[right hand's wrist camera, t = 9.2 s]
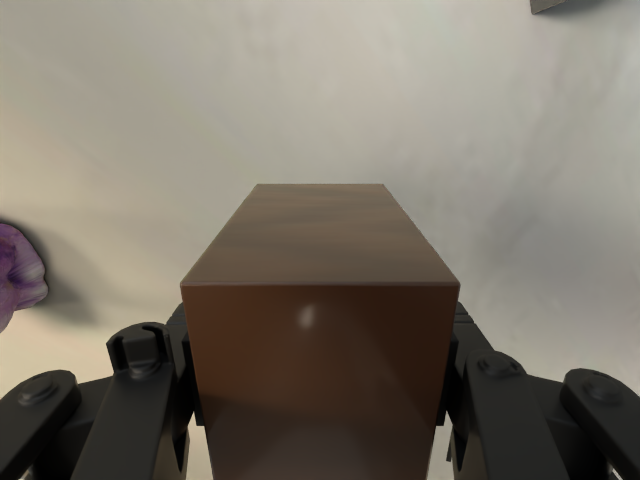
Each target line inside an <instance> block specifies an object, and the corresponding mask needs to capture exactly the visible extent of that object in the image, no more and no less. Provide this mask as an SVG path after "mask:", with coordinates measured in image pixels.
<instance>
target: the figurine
mask: <svg viewBox="0 0 640 480" xmlns="http://www.w3.org/2000/svg"><path fill="white" fill-rule="evenodd" d="M44 274H45V268H44V265H43V264H42V260H41V259H40V257H39V256H38V255H37V252H36V251H35V250H34V248H33V247H32V245H31V244H30V243H29V242H28V241H27V239H26V238H25V237H24V236H23V234H22V233H21V232H20V231H19V230H17V229H15V228H13V227H12V226H11V225H6V224H0V333H1V332H2V331H3V330H4V329H5V328H6V327H7V325H8V323H9V321H10V320H11V318H12V316H13V312H14V311H17V310H21V309H26V308H30V307H32V306H33V305H35V303H37V302H39V301H41V300H42V299H43V298H45V297H46V296H47V293H48V287H47V285H46V282H45V281H44V278H43V276H44Z"/></svg>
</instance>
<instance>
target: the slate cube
mask: <svg viewBox="0 0 640 480" xmlns="http://www.w3.org/2000/svg"><path fill="white" fill-rule="evenodd" d="M566 1H568V0H530V2H531V11H532V14H535V13H538V12H540V11H543V10H545V9H548V8H550V7H553V6H555V5H558V4H560V3H563V2H566Z"/></svg>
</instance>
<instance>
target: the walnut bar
mask: <svg viewBox="0 0 640 480" xmlns="http://www.w3.org/2000/svg"><path fill="white" fill-rule="evenodd" d="M180 288H181V294H182V300H183V306H184V311H185V317H186V323H187V329H188V335H189V340H190V346H191V352H192V358H193V363H194V369H195V375H196V381H197V387H198V392H199V398H200V404H201V410H202V416H203V421H204V427H205V433H206V439H207V444H208V450H209V456H210V462H211V468H212V473H213V479H214V480H427V475H428V470H429V464H430V458H431V452H432V447H433V441H434V435H435V429H436V424H437V418H438V412H439V406H440V401H441V395H442V389H443V383H444V378H445V372H446V366H447V360H448V354H449V349H450V343H451V337H452V331H453V326H454V320H455V314H456V308H457V303H458V297H459V291H460V282H459V281H458V279H457V278H456V277H455V276H454V274H453V273H452V272H451V270H450V269H449V268H448V267H447V265H446V264H445V263H444V261H443V260H442V259H441V258H440V256H439V255H438V254H437V252H436V251H435V250H434V249H433V247H432V246H431V245H430V243H429V242H428V241H427V240H426V238H425V237H424V236H423V235H422V233H421V232H420V231H419V229H418V228H417V227H416V226H415V224H414V223H413V222H412V220H411V219H410V218H409V217H408V215H407V214H406V213H405V211H404V210H403V209H402V208H401V206H400V205H399V204H398V202H397V201H396V200H395V199H394V197H393V196H392V195H391V194H390V192H389V191H388V190H387V188H386V187H385V186H384V185H383V184H257V185H256V186H255V187H254V189H253V190H252V191H251V193H250V194H249V195H248V196H247V198H246V199H245V200H244V202H243V203H242V204H241V205H240V207H239V208H238V209H237V211H236V212H235V213H234V214H233V216H232V217H231V218H230V220H229V221H228V222H227V223H226V225H225V226H224V227H223V229H222V230H221V231H220V232H219V234H218V235H217V236H216V238H215V239H214V240H213V241H212V243H211V244H210V245H209V247H208V248H207V249H206V250H205V252H204V253H203V254H202V256H201V257H200V258H199V259H198V261H197V262H196V263H195V265H194V266H193V267H192V268H191V270H190V271H189V272H188V274H187V275H186V276H185V277H184V279H183V280H182V281H181V283H180Z"/></svg>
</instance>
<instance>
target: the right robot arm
mask: <svg viewBox="0 0 640 480" xmlns="http://www.w3.org/2000/svg"><path fill="white" fill-rule="evenodd" d="M106 346H107V349H108V353H109V356H110V360H111V363H112V367H113V370H114V374H113V376H110V377H107V378H103V379H98V380H94V381H89V382H85V383H80V384H78V383H77V380H76V377H75V375H74V374H72V373H71V372H70V371H66V370H54V371H47V372H44V373H41V374H38V375H35V376H33V377H31V378H29V379H27V380H25V381H23V382H21V383H20V384H18V385H17V386H16V387H14V388H13V389H12V390H11V391H9V392H8V393H7V394H6V395H5V396H4V397H3V398H2V399H1V400H0V480H20V478H21V477H22V476H23V475H24V473H25V472H26V471H27V470H28V472H29V473H28V474H27V475H26V477H25V478H24V479H23V480H186V472H187V462H188V453H189V443H190V438H189V432H188V424H189V422H190V419H191V417H192V414H193V412H194V414H195V419H196V425H197V426H204V421H203V416H202V410H201V404H200V398H199V392H198V387H197V381H196V375H195V369H194V363H193V358H192V352H191V346H190V340H189V335H188V329H187V323H186V317H185V311H184V306H183V302H182V303H181V304H179V306H178V307H177V308H176V310H175V311H174V313H173V314H172V316H171V317H170V318H169V320H168V321H167V324H166V325H164V324H161V323H157V322H144V323H139V324H135V325H131V326H129V327H127V328H124V329H122V330H120V331H119V332H117V333H116V334H115V335H113V336H112V337H111V338H110V339H109V340H108V342H107V343H106ZM446 410H447V412H448V414H449V417H450V419H451V422H452V424H453V426H452V432H451V437H450V442H449V447H448V452H447V458H446V461H449V462H451V458H452V461H453V471H454V480H619V479H618V478H617V477H616V476H615V474H614V473H613V472H612V470H613V468H614V469H615V470H616V472H617V473H618V474H619V475H620V477H621V478H622V479H623V480H640V397H639V396H638V395H637V394H636V393H635V392H633V391H632V390H631V389H630V388H628V387H627V386H626V385H624V384H623V383H622V382H620V381H619V380H617V379H615V378H613V377H611V376H609V375H607V374H604V373H601V372H598V371H595V370H590V369H582V368H579V369H572V370H570V371H569V372H568V373H567V374H566V375H565V378H564V381H563V383H562V382H557V381H553V380H548V379H544V378H539V377H535V376H532V375H528V374H527V373H526V371H525V370H524V369H523V367H522V366H521V364H520V363H518V362H517V361H516V360H515V359H513V358H512V357H510V356H508V355H506V354H504V353H502V352H499V351H495V350H494V349H493V348H492V346H491V345H490V343H489V342H488V341H487V339H486V338H485V336H484V335H483V334H482V332H481V331H480V329H479V328H478V326H477V325H476V324H474V321H473V319H472V318H471V317H470V315H468V312H467V311H466V309H465V308H464V307H463V305H462V304H461V303H460V302H458V303H457V308H456V314H455V320H454V326H453V331H452V337H451V343H450V349H449V354H448V360H447V366H446V372H445V378H444V383H443V389H442V395H441V401H440V406H439V412H438V418H437V424H436V426H444V421H445V415H446Z"/></svg>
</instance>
